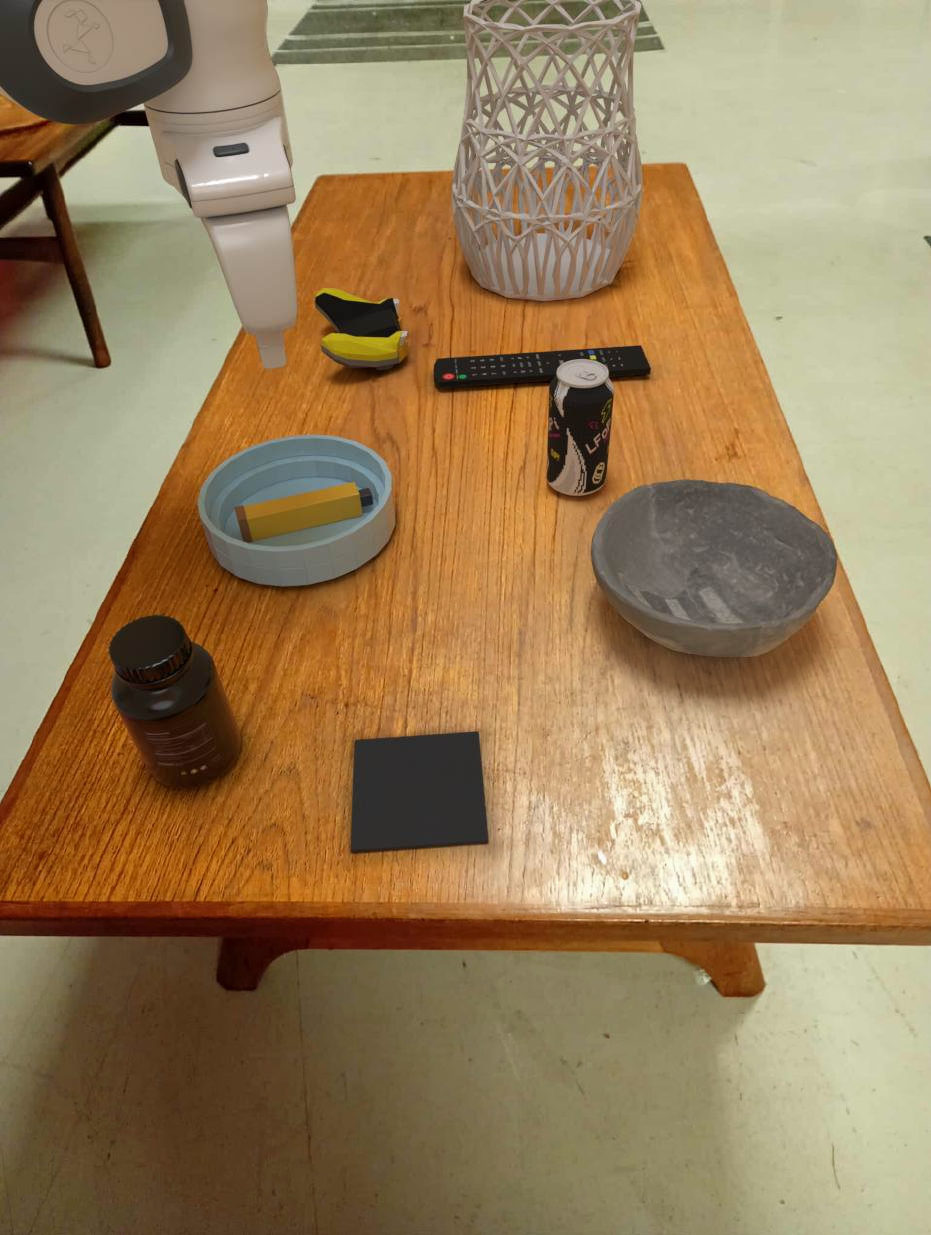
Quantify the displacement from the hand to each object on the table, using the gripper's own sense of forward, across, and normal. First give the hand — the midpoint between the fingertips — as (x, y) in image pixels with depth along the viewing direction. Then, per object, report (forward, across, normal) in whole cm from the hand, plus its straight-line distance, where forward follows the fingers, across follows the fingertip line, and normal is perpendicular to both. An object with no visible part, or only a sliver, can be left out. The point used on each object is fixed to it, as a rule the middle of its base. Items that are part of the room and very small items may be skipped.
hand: (263, 335), depth 69 cm
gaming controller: (+19, -31, +13) cm, 39 cm away
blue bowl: (+19, 0, 0) cm, 19 cm away
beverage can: (+19, +3, +26) cm, 33 cm away
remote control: (+19, -18, +31) cm, 40 cm away
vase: (+19, -44, +42) cm, 63 cm away
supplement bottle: (+19, +23, -12) cm, 33 cm away
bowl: (+19, +23, +28) cm, 41 cm away
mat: (+19, +32, +2) cm, 37 cm away
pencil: (+19, 0, 0) cm, 19 cm away
